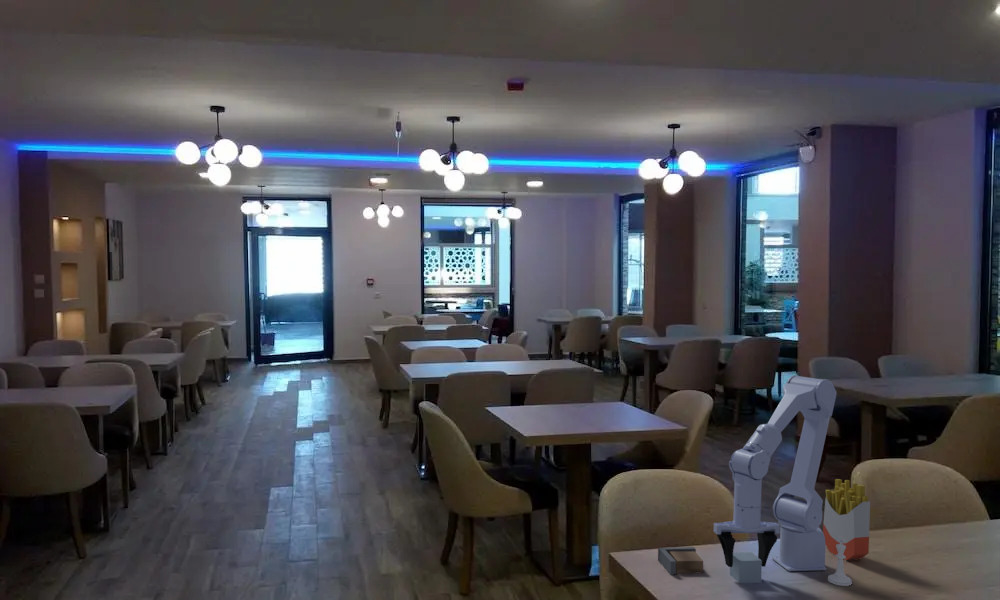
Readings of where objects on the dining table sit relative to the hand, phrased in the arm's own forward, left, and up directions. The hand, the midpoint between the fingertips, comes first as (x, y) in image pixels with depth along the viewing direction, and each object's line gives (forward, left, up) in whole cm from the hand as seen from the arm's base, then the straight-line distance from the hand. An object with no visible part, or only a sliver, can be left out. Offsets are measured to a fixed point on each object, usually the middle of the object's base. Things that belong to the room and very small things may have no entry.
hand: (745, 565), depth 167 cm
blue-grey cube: (0, 0, -3) cm, 3 cm away
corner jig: (+11, -7, -3) cm, 14 cm away
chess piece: (-21, +3, -3) cm, 21 cm away
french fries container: (-31, -12, -3) cm, 33 cm away
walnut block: (+11, -7, -3) cm, 14 cm away
